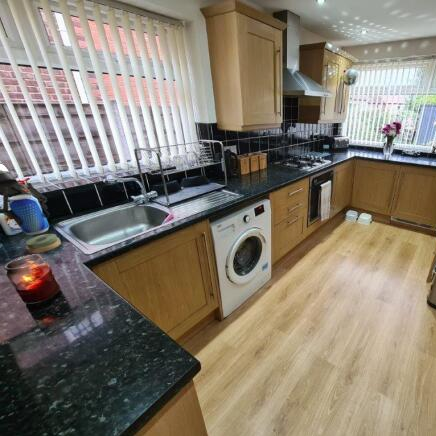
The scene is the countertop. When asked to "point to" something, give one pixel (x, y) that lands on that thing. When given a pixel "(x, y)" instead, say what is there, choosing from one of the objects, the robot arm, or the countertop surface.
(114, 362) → the countertop surface
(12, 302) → the countertop surface
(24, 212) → the blue canister
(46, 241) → the green frosted donut
